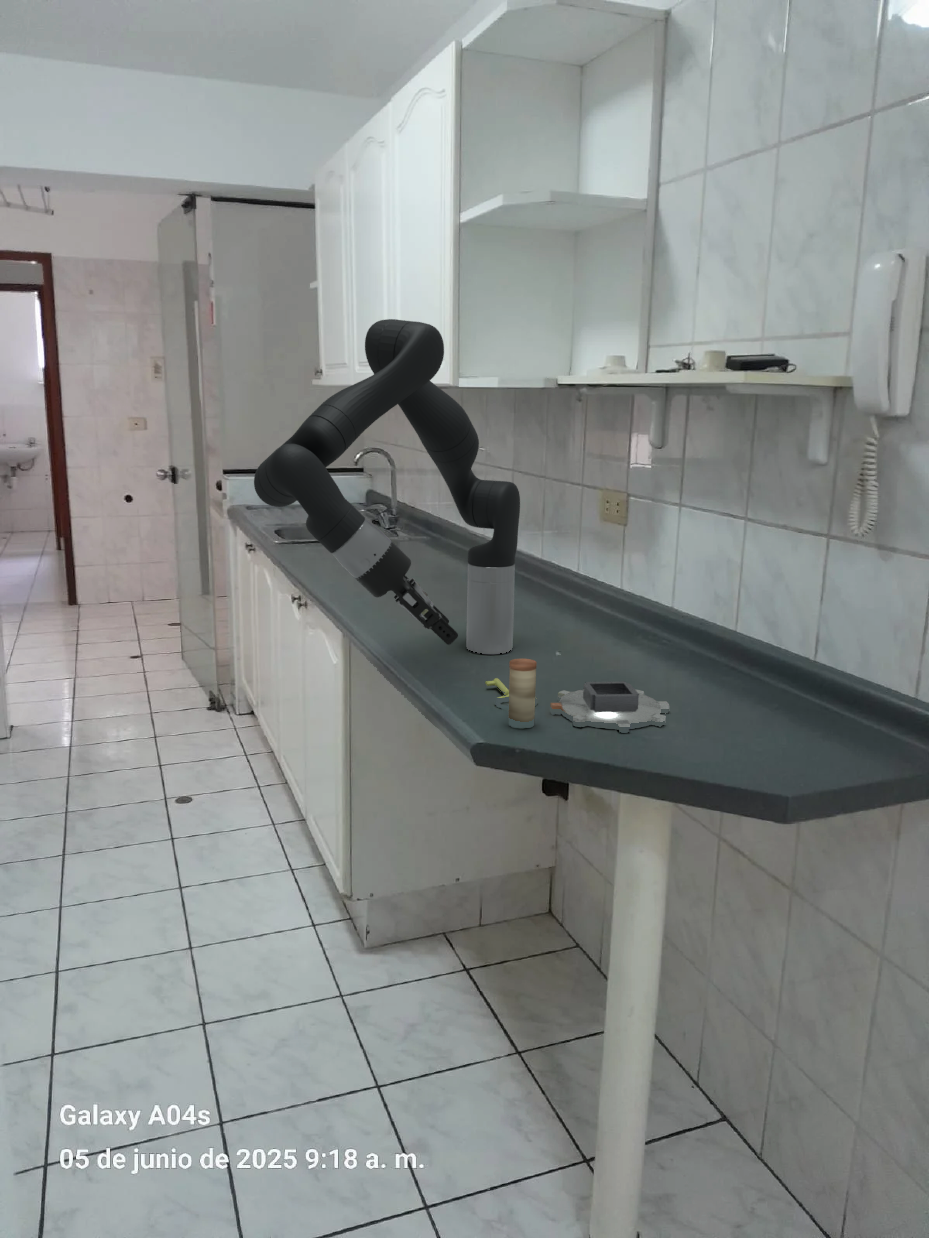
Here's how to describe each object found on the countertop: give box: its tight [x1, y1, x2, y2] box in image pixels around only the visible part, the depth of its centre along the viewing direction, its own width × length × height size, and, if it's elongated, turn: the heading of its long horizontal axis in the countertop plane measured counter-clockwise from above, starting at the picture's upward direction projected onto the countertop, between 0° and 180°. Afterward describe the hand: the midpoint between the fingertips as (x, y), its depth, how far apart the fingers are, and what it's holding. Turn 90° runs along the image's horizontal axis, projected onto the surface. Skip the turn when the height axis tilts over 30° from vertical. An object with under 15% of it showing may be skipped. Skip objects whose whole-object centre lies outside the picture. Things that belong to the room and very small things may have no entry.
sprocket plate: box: [549, 681, 670, 727], centre depth 151 cm, size 19×19×4 cm
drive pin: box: [508, 658, 538, 722], centre depth 145 cm, size 4×4×10 cm
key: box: [484, 677, 509, 698], centre depth 158 cm, size 7×12×2 cm, turn 37°
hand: (449, 632), depth 140 cm, fingers open, 8 cm apart
